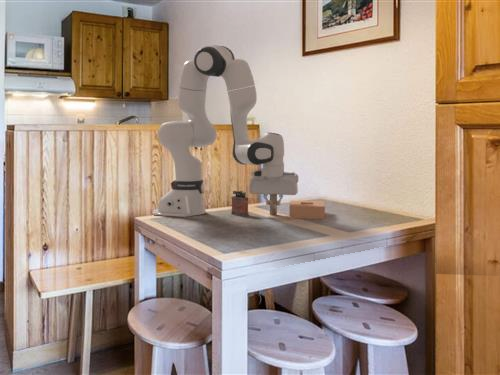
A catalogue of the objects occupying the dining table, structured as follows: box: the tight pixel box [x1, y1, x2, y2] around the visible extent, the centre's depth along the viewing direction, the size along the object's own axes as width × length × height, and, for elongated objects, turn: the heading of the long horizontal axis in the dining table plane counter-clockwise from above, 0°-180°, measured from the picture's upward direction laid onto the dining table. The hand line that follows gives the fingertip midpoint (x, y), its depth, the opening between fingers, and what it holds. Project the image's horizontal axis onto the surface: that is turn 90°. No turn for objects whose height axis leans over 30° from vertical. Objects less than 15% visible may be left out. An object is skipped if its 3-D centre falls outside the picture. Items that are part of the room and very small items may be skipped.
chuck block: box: [288, 200, 326, 220], centre depth 185 cm, size 14×14×5 cm
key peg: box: [269, 194, 278, 216], centre depth 186 cm, size 3×3×9 cm
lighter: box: [230, 190, 249, 217], centre depth 187 cm, size 8×3×10 cm, turn 58°
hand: (273, 205), depth 186 cm, fingers closed on key peg, 3 cm apart
